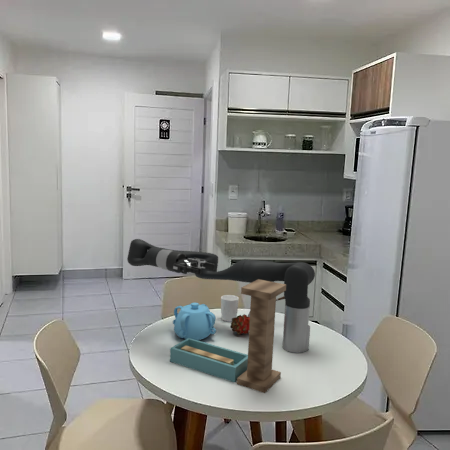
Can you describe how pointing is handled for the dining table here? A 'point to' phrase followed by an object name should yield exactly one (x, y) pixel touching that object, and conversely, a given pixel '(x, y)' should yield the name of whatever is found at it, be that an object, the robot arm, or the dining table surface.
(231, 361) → the bar
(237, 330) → the dragon fruit
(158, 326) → the dining table surface
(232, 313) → the white cup
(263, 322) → the stand
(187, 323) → the decorative pot
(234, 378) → the tray
